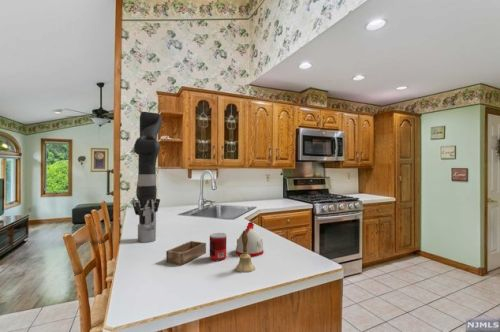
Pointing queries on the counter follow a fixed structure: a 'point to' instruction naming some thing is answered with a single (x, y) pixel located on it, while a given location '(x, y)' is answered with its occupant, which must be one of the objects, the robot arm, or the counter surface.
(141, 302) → the counter surface
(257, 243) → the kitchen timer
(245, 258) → the hand bell
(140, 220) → the robot arm
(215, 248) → the canned food
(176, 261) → the open wooden box
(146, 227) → the bracket
